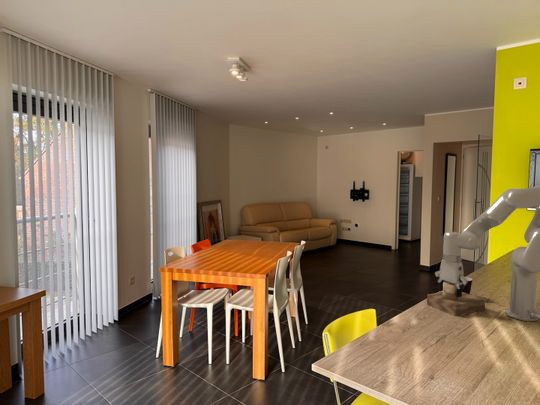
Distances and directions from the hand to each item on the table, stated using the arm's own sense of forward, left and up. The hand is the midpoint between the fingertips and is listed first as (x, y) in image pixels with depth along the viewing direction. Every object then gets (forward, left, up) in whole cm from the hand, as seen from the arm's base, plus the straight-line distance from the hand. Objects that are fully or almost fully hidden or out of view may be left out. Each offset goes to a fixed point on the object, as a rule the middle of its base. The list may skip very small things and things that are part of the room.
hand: (449, 293), depth 175 cm
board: (0, -4, -7) cm, 8 cm away
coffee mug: (+10, -22, -7) cm, 25 cm away
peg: (0, 0, -7) cm, 7 cm away
